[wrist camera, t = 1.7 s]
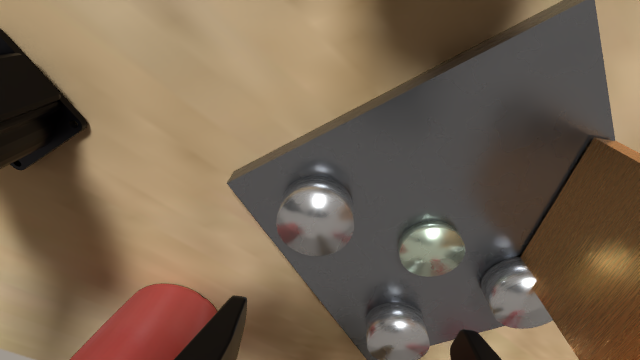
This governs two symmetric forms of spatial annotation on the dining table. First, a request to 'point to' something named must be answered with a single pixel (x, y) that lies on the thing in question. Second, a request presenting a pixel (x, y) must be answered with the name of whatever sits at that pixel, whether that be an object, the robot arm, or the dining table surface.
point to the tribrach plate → (435, 182)
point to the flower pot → (150, 325)
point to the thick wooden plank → (581, 261)
